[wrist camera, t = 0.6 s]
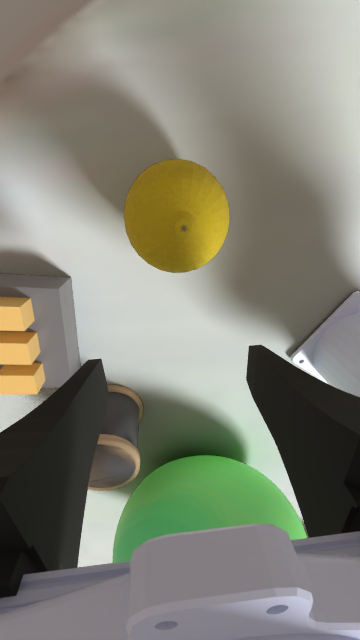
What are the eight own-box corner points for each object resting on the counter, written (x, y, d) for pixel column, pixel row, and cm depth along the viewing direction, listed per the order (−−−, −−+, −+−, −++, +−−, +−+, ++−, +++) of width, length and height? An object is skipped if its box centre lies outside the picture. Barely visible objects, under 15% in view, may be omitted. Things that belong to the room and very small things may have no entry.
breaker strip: (-16, 271, 18) (-63, 292, 14) (72, 275, 19) (50, 297, 15) (7, 363, 22) (-26, 402, 18) (81, 364, 22) (65, 401, 18)
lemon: (126, 248, 18) (108, 282, 11) (136, 158, 16) (120, 127, 9) (201, 261, 19) (230, 301, 12) (221, 178, 17) (270, 165, 10)
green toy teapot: (299, 451, 30) (413, 653, 17) (221, 527, 36) (259, 722, 23) (163, 403, 25) (172, 637, 12) (97, 501, 31) (53, 731, 17)
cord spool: (154, 399, 25) (153, 456, 19) (124, 435, 26) (116, 497, 21) (100, 375, 23) (84, 430, 17) (72, 416, 25) (49, 477, 19)
